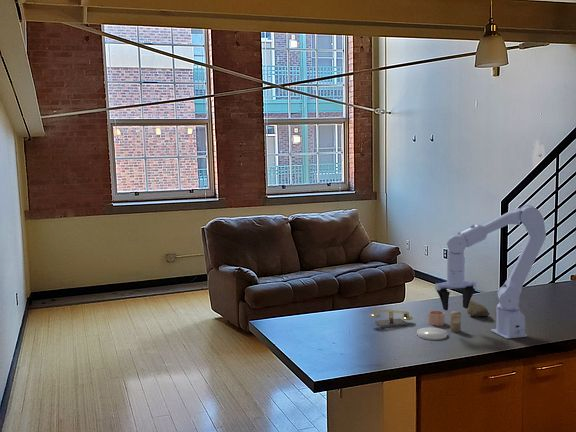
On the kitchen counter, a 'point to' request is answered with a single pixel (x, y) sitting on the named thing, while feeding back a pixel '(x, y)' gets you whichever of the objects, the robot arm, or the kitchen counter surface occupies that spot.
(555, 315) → the kitchen counter surface
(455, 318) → the peg
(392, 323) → the balance
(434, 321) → the sleeve
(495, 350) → the kitchen counter surface
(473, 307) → the fossil
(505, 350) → the kitchen counter surface
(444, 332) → the white glossy domed part
